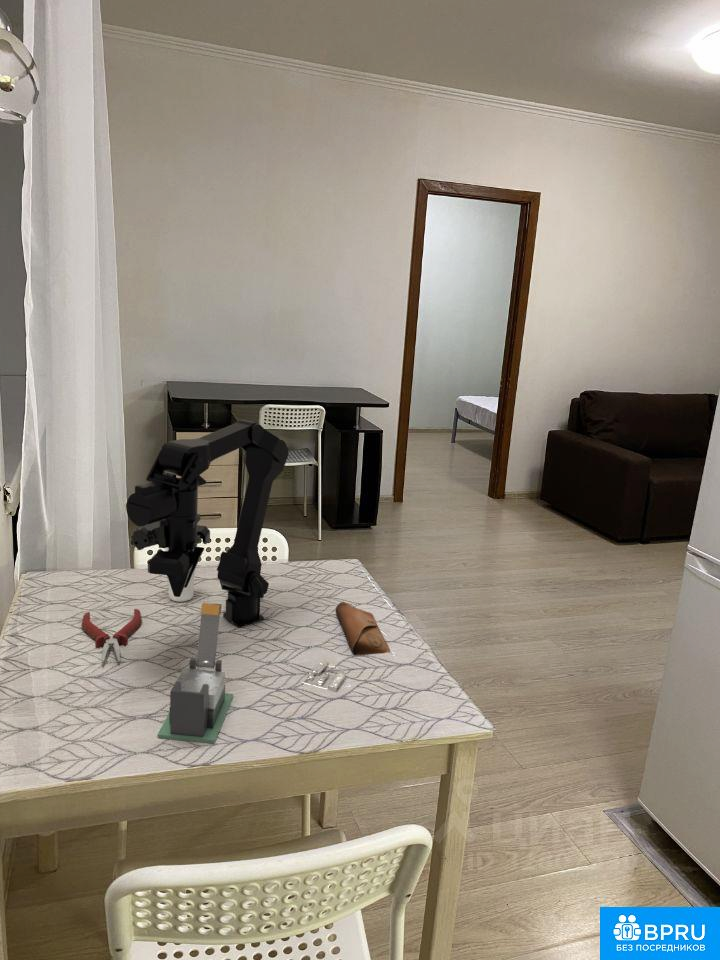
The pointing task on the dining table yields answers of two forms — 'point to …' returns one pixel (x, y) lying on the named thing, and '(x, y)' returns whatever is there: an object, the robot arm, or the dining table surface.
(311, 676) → the clear plastic blister pack
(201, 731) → the socket board
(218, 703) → the heat sink
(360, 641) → the sunglasses case
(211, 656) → the grey hinged lever
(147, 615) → the dining table surface
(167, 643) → the dining table surface
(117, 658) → the pliers
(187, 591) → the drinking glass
